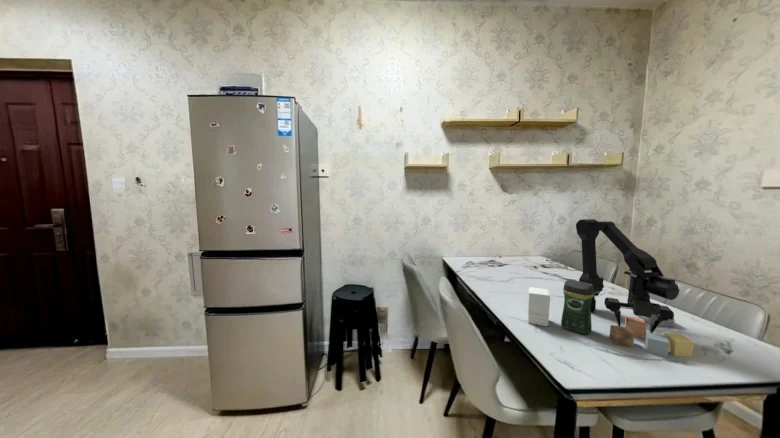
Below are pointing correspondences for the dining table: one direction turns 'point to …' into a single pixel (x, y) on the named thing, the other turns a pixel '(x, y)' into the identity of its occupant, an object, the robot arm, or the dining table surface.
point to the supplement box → (538, 306)
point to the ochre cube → (680, 345)
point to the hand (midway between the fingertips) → (634, 329)
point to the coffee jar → (577, 306)
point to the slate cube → (657, 344)
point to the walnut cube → (621, 336)
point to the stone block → (663, 323)
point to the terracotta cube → (636, 325)
